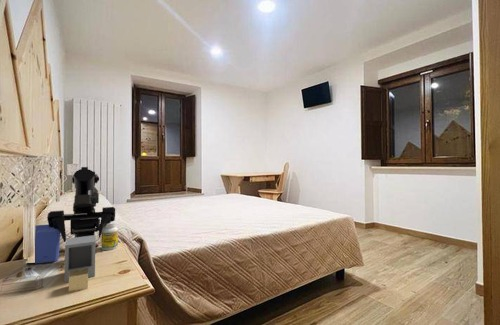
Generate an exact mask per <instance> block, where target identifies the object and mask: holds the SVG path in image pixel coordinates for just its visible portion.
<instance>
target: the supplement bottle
mask: <svg viewBox="0 0 500 325" xmlns="http://www.w3.org/2000/svg"><path fill="white" fill-rule="evenodd" d="M118 246H119V228H118V227H117V223H116V221H112V222H111V223H110V224H107V225H106V227H105V228H104V230H103V232H102V234H101V249H102V250H103V251H110V250H114V249H117V248H118Z"/></svg>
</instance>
